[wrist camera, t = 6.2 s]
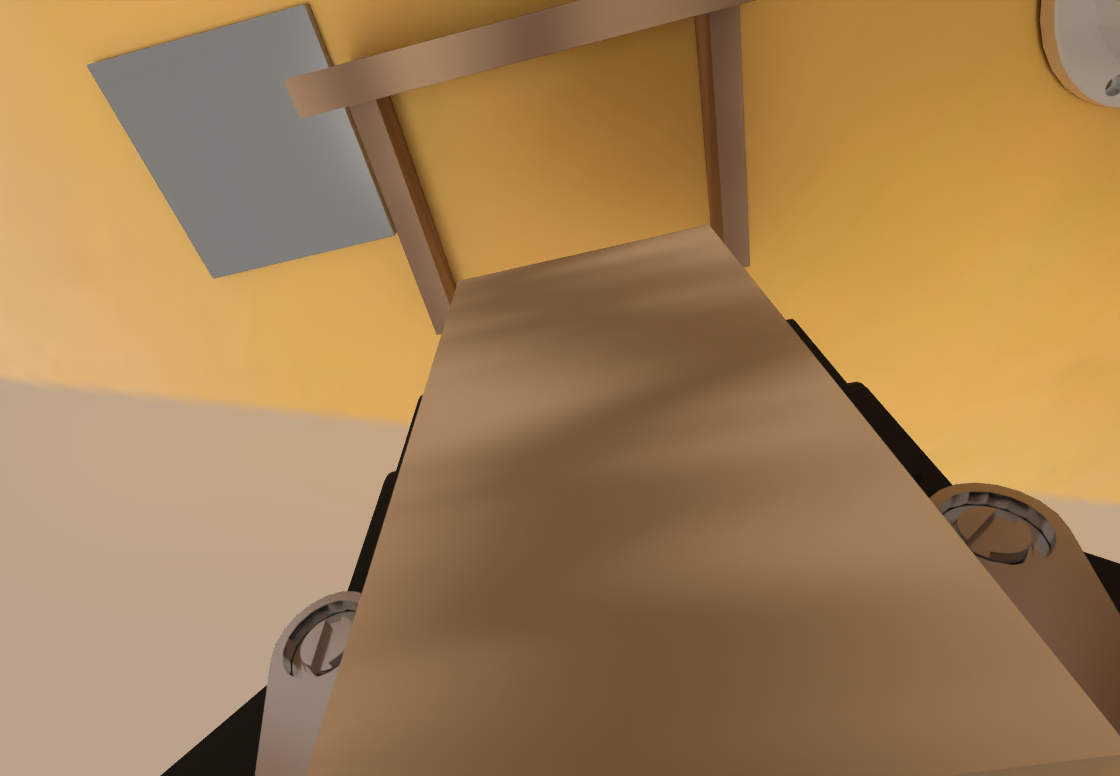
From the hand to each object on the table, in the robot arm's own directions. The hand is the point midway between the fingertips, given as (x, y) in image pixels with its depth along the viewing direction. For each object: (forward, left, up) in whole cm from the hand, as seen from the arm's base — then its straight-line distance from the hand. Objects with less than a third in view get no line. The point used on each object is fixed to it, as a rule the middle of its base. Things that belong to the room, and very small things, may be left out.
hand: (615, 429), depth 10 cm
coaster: (+14, -4, -21) cm, 26 cm away
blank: (0, 0, -3) cm, 3 cm away
